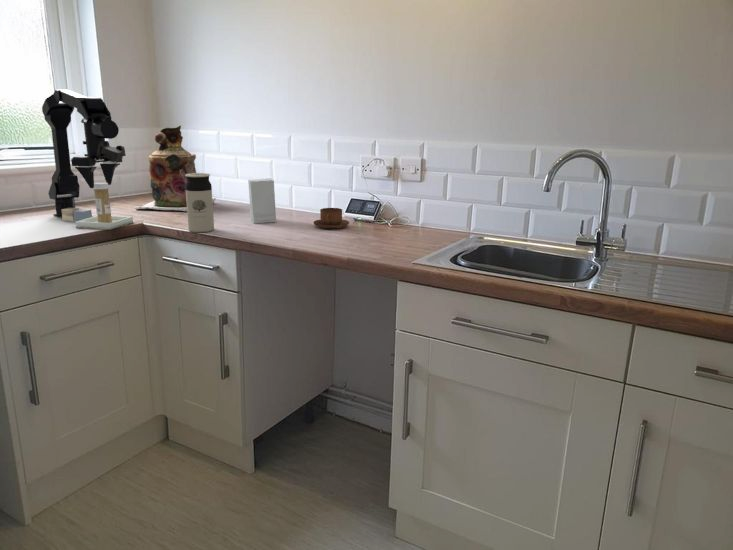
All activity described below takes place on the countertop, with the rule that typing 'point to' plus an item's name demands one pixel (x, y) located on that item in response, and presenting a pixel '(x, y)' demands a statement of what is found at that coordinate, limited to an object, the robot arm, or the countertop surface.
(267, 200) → the skincare box
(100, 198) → the sprinkles bottle
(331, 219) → the cup and saucer
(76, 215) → the slate block
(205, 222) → the travel mug
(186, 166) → the cookie jar
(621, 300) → the countertop surface
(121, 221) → the sage tray
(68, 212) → the birch block
